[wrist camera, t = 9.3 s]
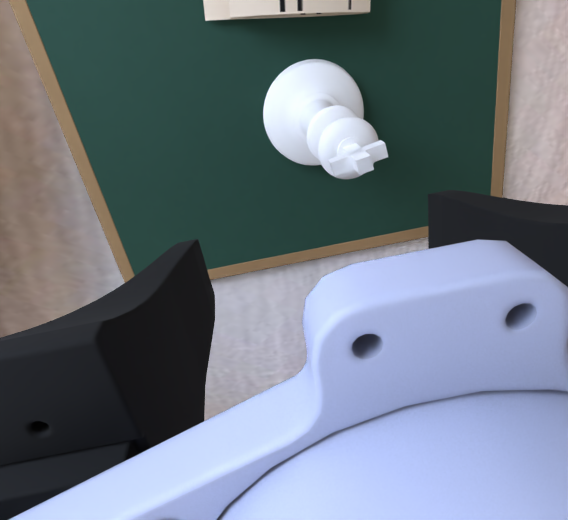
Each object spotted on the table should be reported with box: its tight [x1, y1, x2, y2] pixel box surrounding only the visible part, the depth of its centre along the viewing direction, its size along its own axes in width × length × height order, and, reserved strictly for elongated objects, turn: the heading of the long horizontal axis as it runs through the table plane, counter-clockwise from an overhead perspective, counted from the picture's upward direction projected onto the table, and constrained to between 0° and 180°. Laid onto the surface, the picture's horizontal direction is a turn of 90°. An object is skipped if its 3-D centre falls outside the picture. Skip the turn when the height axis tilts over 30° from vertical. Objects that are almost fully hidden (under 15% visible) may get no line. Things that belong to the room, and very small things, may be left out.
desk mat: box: [9, 0, 516, 283], centre depth 21 cm, size 17×22×1 cm
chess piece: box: [263, 59, 388, 179], centre depth 16 cm, size 5×5×10 cm
